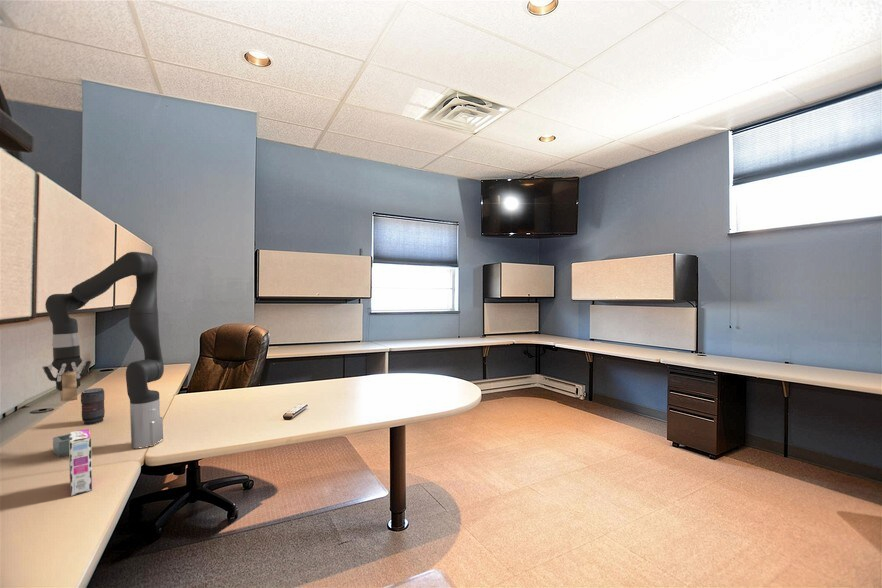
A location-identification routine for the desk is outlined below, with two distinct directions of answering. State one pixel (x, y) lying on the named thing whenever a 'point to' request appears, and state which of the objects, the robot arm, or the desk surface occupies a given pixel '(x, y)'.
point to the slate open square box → (61, 445)
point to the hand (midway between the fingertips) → (68, 389)
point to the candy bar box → (80, 462)
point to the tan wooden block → (68, 386)
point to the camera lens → (92, 406)
